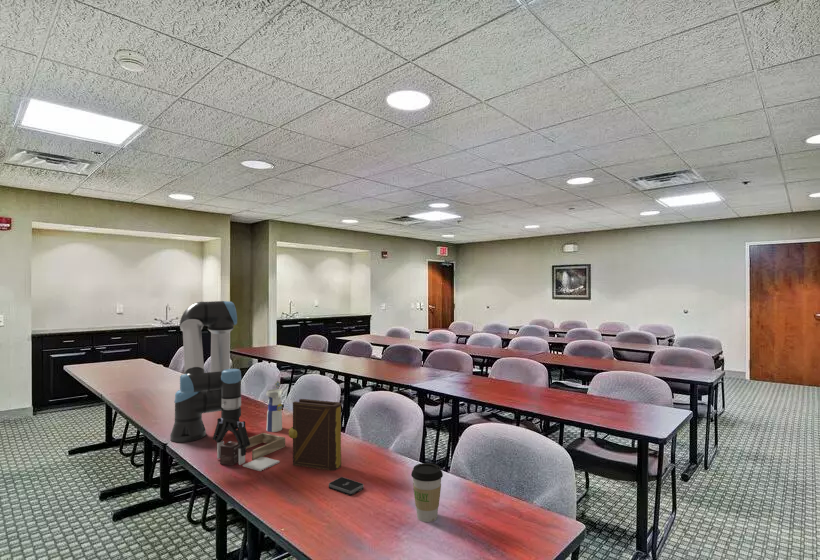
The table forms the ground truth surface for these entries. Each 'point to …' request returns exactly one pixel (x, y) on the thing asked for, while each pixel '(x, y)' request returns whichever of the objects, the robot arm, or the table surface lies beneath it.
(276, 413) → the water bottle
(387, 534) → the table surface
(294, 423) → the book
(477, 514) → the table surface
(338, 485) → the external hard drive
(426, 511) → the coffee cup
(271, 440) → the wooden frame
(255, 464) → the tile
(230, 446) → the box
